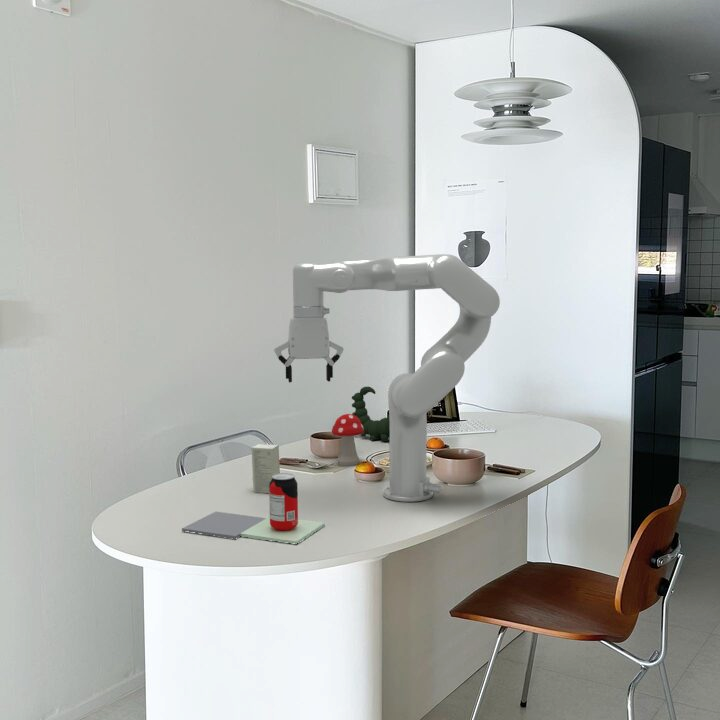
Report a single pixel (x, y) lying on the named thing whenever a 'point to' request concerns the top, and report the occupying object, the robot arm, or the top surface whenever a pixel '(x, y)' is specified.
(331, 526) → the top surface
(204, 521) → the grey pad
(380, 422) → the toy figurine
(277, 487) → the beverage can
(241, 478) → the top surface
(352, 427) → the decorative mushroom
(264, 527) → the green pad
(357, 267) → the robot arm
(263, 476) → the skincare box
